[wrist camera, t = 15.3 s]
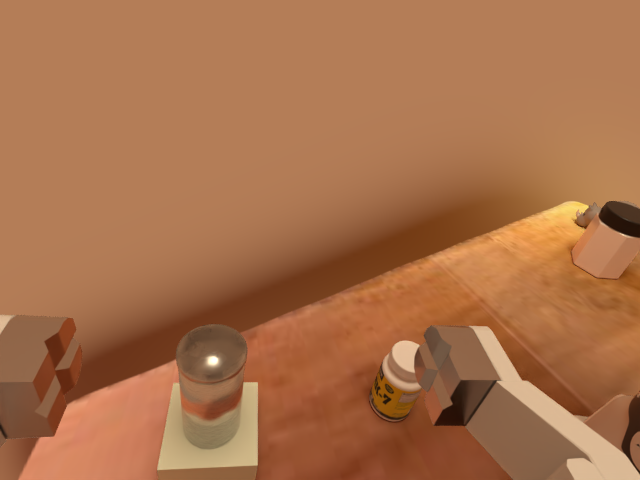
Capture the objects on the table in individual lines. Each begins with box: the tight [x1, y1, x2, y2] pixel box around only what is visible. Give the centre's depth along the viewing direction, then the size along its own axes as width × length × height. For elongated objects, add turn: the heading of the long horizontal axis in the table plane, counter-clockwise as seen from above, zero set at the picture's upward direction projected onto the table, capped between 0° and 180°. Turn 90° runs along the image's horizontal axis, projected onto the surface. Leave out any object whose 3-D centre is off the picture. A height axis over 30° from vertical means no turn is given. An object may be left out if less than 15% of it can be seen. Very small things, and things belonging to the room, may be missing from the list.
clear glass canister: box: [176, 324, 247, 450], centre depth 33 cm, size 5×5×10 cm
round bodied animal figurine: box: [576, 201, 640, 227], centre depth 87 cm, size 7×12×8 cm, turn 40°
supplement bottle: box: [369, 341, 422, 421], centre depth 43 cm, size 5×5×8 cm
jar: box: [571, 201, 640, 279], centre depth 74 cm, size 9×8×12 cm
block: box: [157, 382, 258, 480], centre depth 38 cm, size 8×8×4 cm
